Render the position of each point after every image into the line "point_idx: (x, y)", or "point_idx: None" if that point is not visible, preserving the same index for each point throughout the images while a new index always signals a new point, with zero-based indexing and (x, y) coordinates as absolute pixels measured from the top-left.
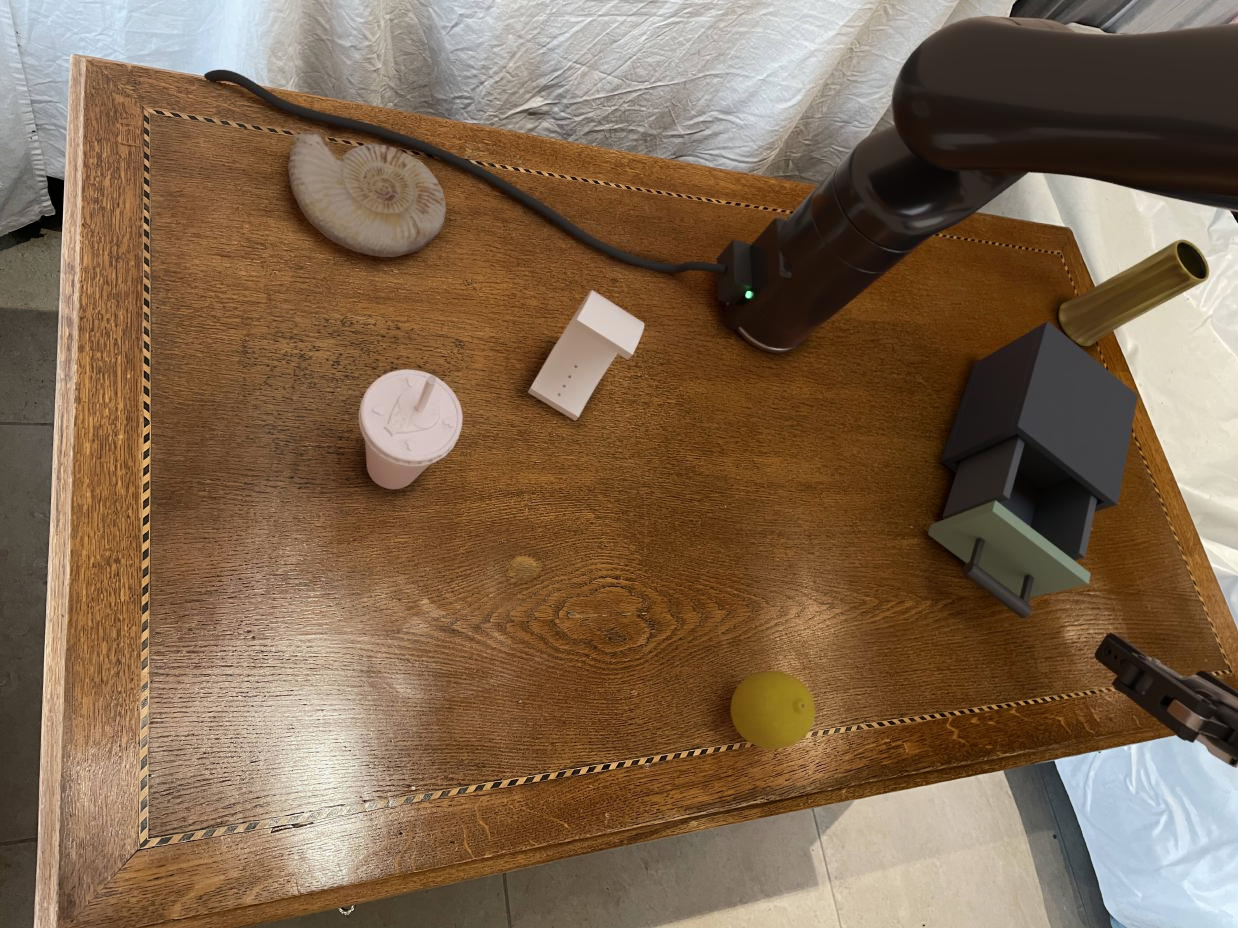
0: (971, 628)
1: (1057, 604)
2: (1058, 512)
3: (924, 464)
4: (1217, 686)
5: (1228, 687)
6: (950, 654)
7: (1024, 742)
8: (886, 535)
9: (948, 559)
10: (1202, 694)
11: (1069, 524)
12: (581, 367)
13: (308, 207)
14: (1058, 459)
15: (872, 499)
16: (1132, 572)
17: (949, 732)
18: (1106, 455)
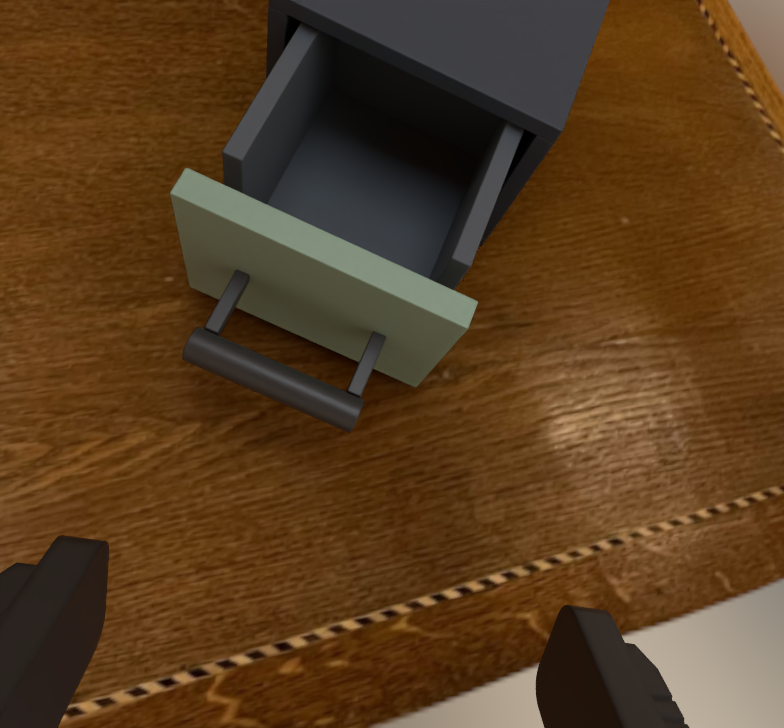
0: (305, 463)
1: (535, 377)
2: (472, 187)
3: (222, 155)
4: (592, 698)
5: (617, 718)
6: (240, 530)
7: (427, 690)
8: (97, 305)
9: (260, 330)
10: (562, 716)
11: (469, 203)
12: None
13: None
14: (391, 51)
15: (71, 238)
16: (719, 288)
17: (213, 711)
18: (539, 30)
